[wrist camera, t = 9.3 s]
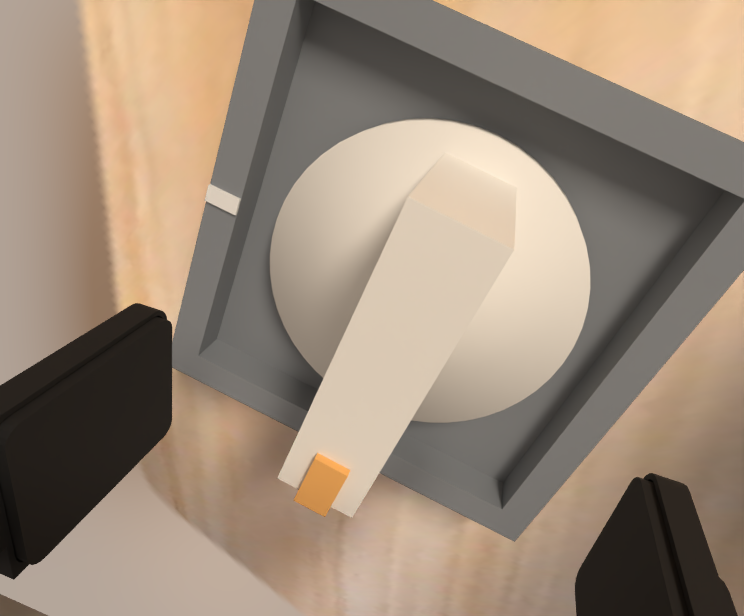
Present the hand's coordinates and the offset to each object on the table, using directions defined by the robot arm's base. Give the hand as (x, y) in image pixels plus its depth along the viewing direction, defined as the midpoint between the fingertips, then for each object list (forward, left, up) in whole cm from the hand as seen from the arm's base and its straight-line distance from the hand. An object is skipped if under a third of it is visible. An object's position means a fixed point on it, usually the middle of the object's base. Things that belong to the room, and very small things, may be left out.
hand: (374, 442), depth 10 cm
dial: (0, +1, -9) cm, 9 cm away
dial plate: (0, +1, -12) cm, 12 cm away
